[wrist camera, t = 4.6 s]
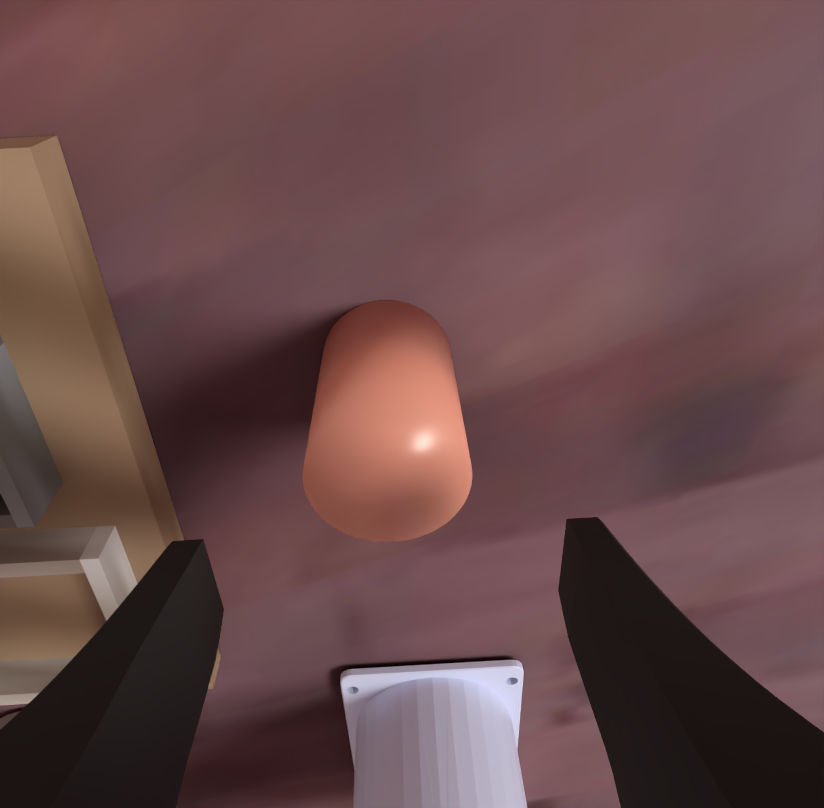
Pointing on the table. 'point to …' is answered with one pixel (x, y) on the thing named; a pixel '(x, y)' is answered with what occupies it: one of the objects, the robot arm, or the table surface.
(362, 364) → the cap
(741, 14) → the table surface
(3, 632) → the board
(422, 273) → the table surface
